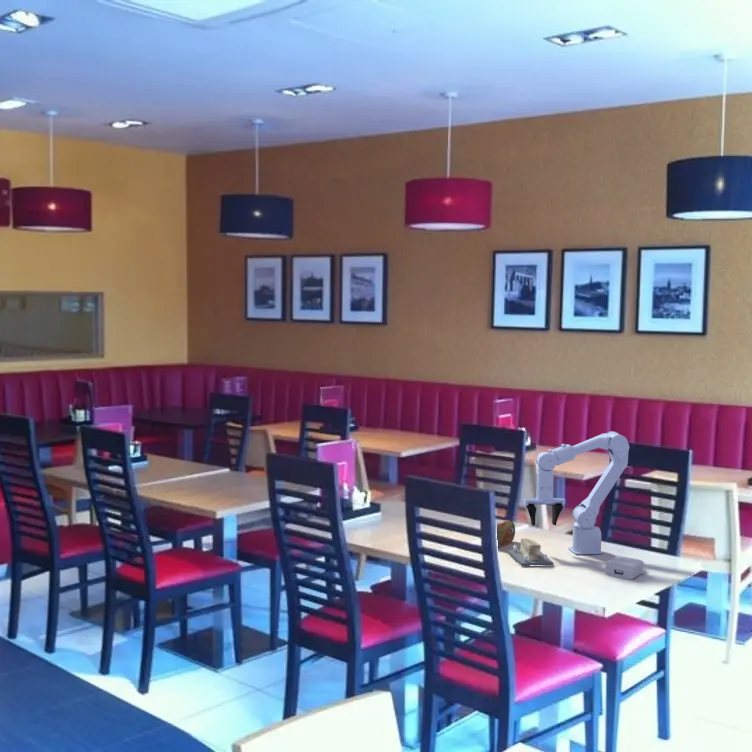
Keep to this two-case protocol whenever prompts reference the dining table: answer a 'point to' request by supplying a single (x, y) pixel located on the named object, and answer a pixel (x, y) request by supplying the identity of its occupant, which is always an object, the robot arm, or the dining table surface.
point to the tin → (505, 532)
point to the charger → (624, 567)
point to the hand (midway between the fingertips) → (543, 524)
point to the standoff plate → (524, 559)
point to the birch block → (530, 548)
